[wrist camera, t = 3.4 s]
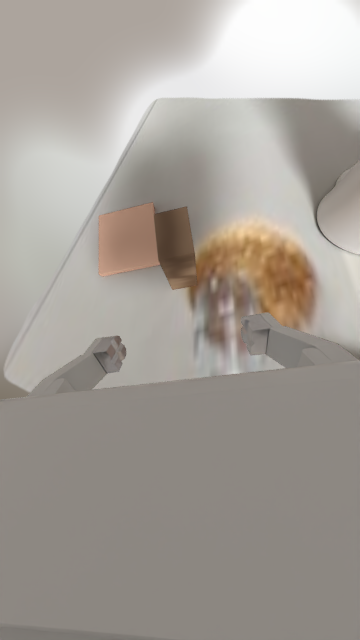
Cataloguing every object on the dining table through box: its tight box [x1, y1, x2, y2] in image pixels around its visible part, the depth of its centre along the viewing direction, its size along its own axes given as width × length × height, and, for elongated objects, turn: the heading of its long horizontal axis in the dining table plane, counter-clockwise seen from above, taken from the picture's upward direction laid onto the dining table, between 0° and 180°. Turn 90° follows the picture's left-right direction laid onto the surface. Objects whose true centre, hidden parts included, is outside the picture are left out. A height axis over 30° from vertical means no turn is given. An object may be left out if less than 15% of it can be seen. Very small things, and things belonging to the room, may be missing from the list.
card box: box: [154, 207, 197, 290], centre depth 24 cm, size 4×7×9 cm, turn 7°
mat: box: [99, 202, 160, 276], centre depth 31 cm, size 12×14×1 cm
